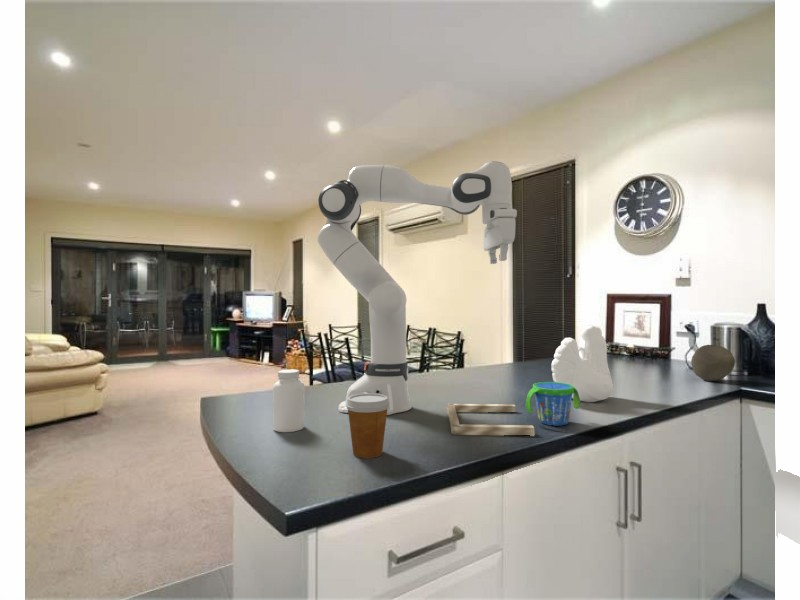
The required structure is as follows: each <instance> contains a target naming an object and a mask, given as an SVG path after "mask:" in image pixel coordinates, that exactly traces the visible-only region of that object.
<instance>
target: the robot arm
mask: <svg viewBox="0 0 800 600" xmlns="http://www.w3.org/2000/svg"><path fill="white" fill-rule="evenodd" d="M512 185H513V184H512V175H511V171H510V168H509V166H508V165H507V164H505V163H503V162H501V161H496V160H495V161H493V160H492V161H487V162H485V163H484V164H483V165H481V167H479V168H477V169H475V170H472V171H470V172H465V173H464V172H463V173H462V174H459V175H458V176H457V177H456V178H455V179H454V181H453V183H452V186H441V185H434V184H428V183H423V182H421V181H419V180H418V179H417V178H415V177H414V176H413V175H412V174H411V173H410V171H408V170H407V169H405V168H401V167H398V166H394V165H386V164H364V165H363V164H362V165H356V166H354V167H353V168H351V170H350V171H349V172H348V176H347V180H346V179H342V180H340V181H338V182H335V183H332V184H329V185H328V186H326V187H324V188H323V189H322V190H321V191H320V193H319V195H318V207H319V210H320V212H321V213H322V215H323V216H324V217H326V223H325V225H324V226H323V227H322V228H321V229H320V230H319V232H318V234H317V242H318V244H319V246H320V248H321V249H322V252H324V254H325V255H326V257H327V259H328V260H329V261H330V262H331V264H332V265H333V266H334V267H335V268H336V269H337V270H338V271H339V273H340V274H341V275H342V276H343V277H344V278H345V279H346V281H347V282H349V284H350V285H351V286H352V287H353V288H354V289H355V290H356V291H357V292H358V293H359V294H360V296H362V297H363V298H364V299H365V300H366V301H367V302H368V313H369V314H368V317H369V319H368V320H369V333H370V361H366V362H365V363H364V365H363V367H364V369H363V371H364V372H363V373H364V374H363V375H362V376H360V378H358V379H357V380H356V381H355V382H353V383H352V384H351V385H350V386H349V387H348V390H347V392H346V395H345V400H343V401H342V402H339V405H338V408H337V409H338V411H339V412H340V413H344V414H345V413H346V414H347V413H348V409H347V406H346V403H347V400H348V397H350V396H352V395H357V394H381V395H385V396H387V398H388V402H389V403H390V404H389V406H388V409H387V416H391V415H393V414H396V413H397V414H398V413H402V412H407V411H409V410H411V409H412V408H413V406H412V404H411V400H410V394H409V387H408V379H409V365H408V361H407V319H406V318H407V317H406V316H407V313H406V312H407V311H406V310H407V308H406V307H407V295H406V292H405V291H404V289H403V288H402V286H400V285H399V283H397V281H396V280H395V279H394V278H393V276H392V275H391V274H390V273H389V272H388V270H386V268H384V266H382V264H381V263H380V262H379V261H378V260H377V259H376V258H375V257H374V255H373V254H372V253H371V252H370V251H369V250H368V249H367V248H366V247H365V245H364V244H363V243H362V242H361V240H359V238H358V237H357V236H356V235H355V234H354V232H353V230H354V228H355V226H356V225H357V223H358V221H359V219H360V217H361V214H362V204H363V203H367V202H378V203H379V202H380V203H391V204H392V203H396V204H397V203H401V204H402V203H403V204H405V203H406V204H407V203H408V204H409V203H410V204H421V205H428V206H437V207H444V208H447V209H450V210H452V211H453V212H454V213H457V214H459V215H465V216H467V215H471V214H474V213H475V212H476V211H477V210H478V209H479V208H480V206H481V207H482V209H481V210H482V212H481V213H482V214H481V215H482V217H481V218H482V220H481V221H482V224H484V225H486V226H485V227H484V229H483V239H482V240H483V242H482V245H483V247H482V248H483V251H484V252H488V257H489V264H490V265H495V264H496V265H497V264H498V261H497V260H498V259H499V261H501V262H505V261H507V259H508V258H507V257H508V252H509V251H508V250H509V245H510V244H512V243H514V241H515V238H516V218H517V217H518V216H517V215H518V210H517V209H516V208H513V204H512V200H511V199H512V198H511V196H512V193H513V192H512V191H513V186H512ZM497 250H500V251H499V255H498V257H499V258H498V259H497V256H496V255H497V254H496V253H497Z"/></svg>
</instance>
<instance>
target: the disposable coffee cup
mask: <svg viewBox="0 0 800 600" xmlns="http://www.w3.org/2000/svg"><path fill="white" fill-rule="evenodd" d="M389 404H390V403H389V402H388V398H387V396H385V395H381V394H357V395H352V396H350V397H348V400H347V403H346V406H347V409H348V420H349V422H348V423H349V429H350V439H351V447H352V454H353V456H355V457H357V458H361V459H373V458H377V457H379V456H381V455H383V448H384V440H385V433H386V425H387V424H386V423H387V416H388V415H387V409H388V406H389Z"/></svg>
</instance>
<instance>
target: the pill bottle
mask: <svg viewBox="0 0 800 600" xmlns="http://www.w3.org/2000/svg"><path fill="white" fill-rule="evenodd" d="M277 379H278V380H277V381H276V382H275V383H274V384H273V386H272V387H273V388H272V428H273V430H274V431H275V432H278V433H293V432H298V431H302V430H303V429H304V427H305V406H306V405H305V402H306V401H305V396H306V395H305V389H306V388H305V384H304V382H303V381H302V380H300V370H299V369H293V368H291V369H282V370H278V372H277Z"/></svg>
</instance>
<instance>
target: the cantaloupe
mask: <svg viewBox="0 0 800 600" xmlns="http://www.w3.org/2000/svg"><path fill="white" fill-rule="evenodd" d="M690 362H691V364H690V365H691V367H692V371H693V373H694V374H695V375H696V377H698V378H699V379H702V380H704V381H706V382H716V381H720V380H722V379H724V378H726V377H727V376H728V375H729V374H731V373H732V371H733V370H734V368H735V365H736V359H735V357H734V354H733V353H732V352H731V351H730V350H729V349H727V348H726V347H724V346H722V345H717V344H705V345H702V346H700V347H699V348H697V349H696V350H695V352H694V353H693V355H692V357H691V361H690Z"/></svg>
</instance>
